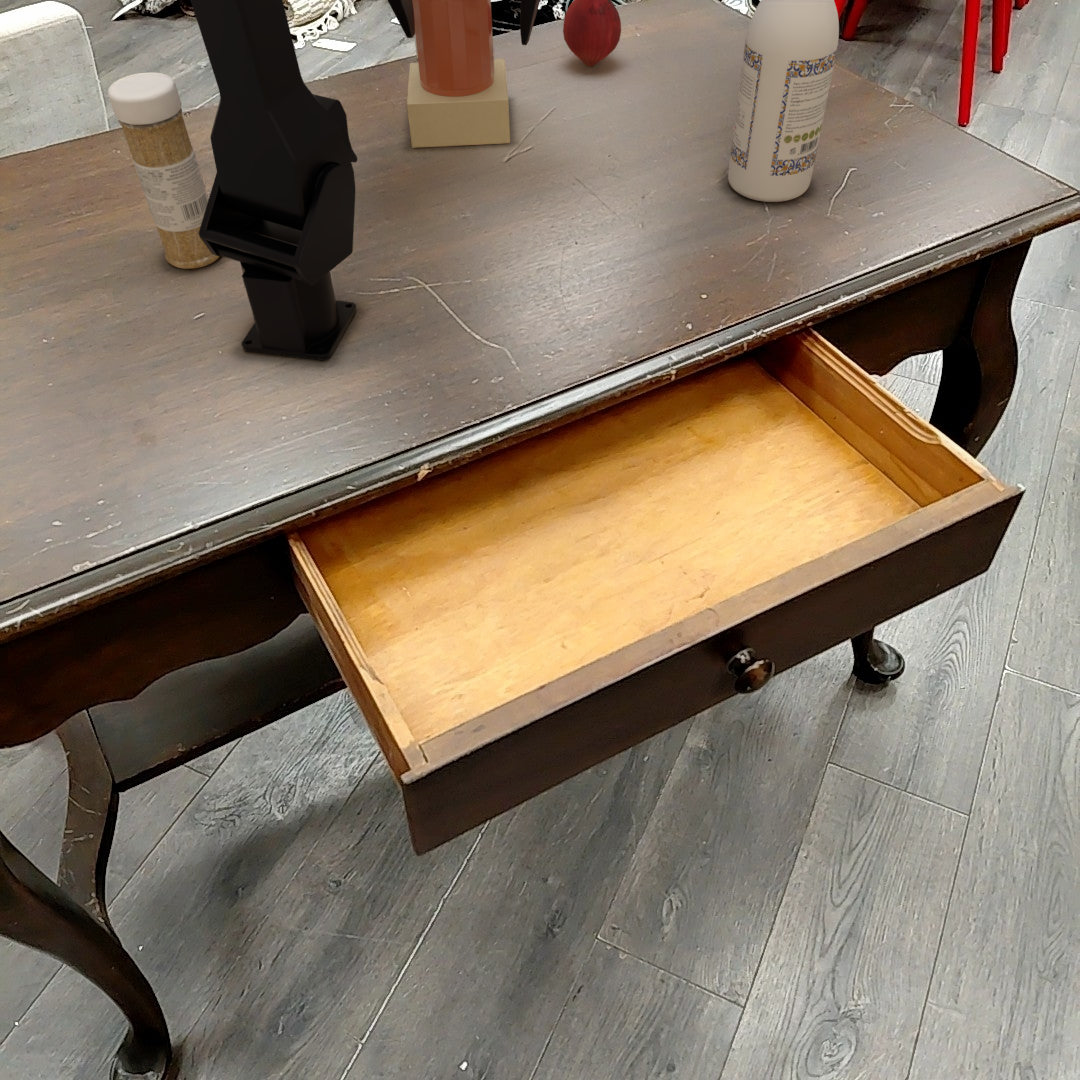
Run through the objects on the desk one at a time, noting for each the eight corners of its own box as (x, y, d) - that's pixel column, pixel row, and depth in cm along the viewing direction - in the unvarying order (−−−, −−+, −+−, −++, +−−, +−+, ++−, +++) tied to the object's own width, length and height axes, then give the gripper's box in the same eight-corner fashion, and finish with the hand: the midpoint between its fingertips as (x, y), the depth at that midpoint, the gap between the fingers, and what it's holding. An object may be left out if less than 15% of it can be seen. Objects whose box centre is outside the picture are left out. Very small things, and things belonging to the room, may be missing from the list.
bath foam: (821, 176, 83) (876, -91, 69) (791, 212, 80) (843, -63, 65) (746, 158, 86) (784, -104, 71) (713, 192, 82) (747, -78, 67)
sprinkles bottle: (208, 234, 79) (157, 64, 69) (234, 257, 77) (185, 84, 67) (156, 254, 77) (95, 82, 67) (181, 278, 75) (121, 103, 65)
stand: (510, 143, 89) (508, 99, 86) (412, 148, 88) (406, 104, 86) (506, 100, 95) (504, 58, 92) (414, 105, 95) (409, 62, 92)
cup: (484, 99, 86) (478, 1, 80) (411, 94, 87) (399, -3, 81) (501, 67, 90) (497, -27, 84) (431, 63, 91) (422, -31, 85)
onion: (627, 59, 101) (631, -26, 95) (607, 81, 97) (610, -6, 91) (576, 51, 103) (576, -33, 97) (554, 72, 99) (553, -14, 93)
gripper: (608, -229, 69) (600, 10, 80) (356, -234, 71) (383, -2, 82) (584, -196, 61) (579, 62, 72) (303, -204, 64) (341, 47, 75)
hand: (467, 39), depth 76 cm, fingers open, 9 cm apart
